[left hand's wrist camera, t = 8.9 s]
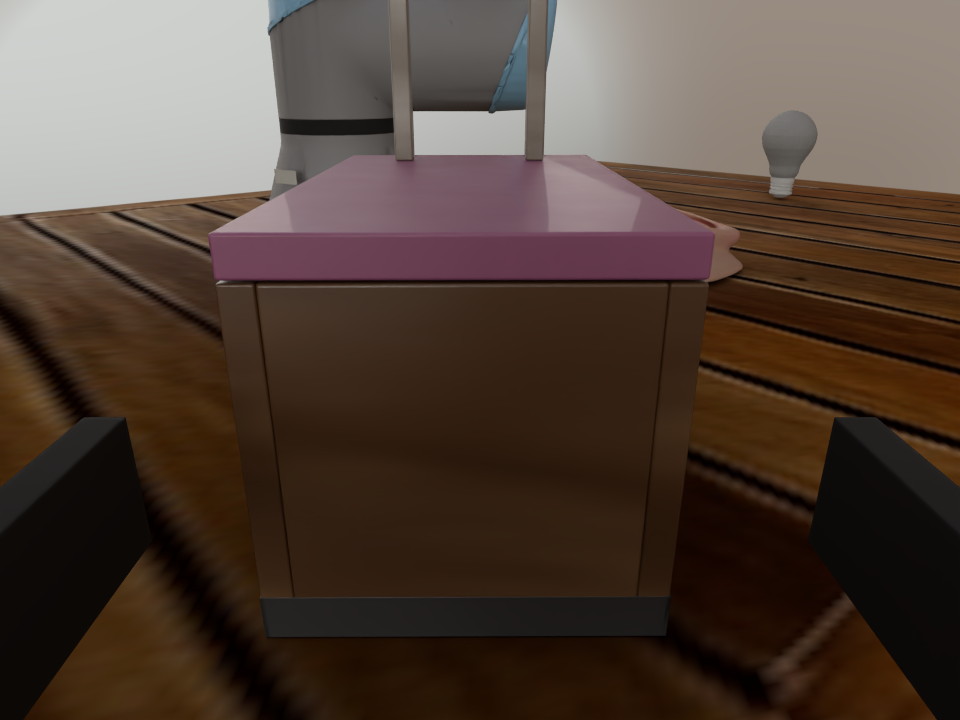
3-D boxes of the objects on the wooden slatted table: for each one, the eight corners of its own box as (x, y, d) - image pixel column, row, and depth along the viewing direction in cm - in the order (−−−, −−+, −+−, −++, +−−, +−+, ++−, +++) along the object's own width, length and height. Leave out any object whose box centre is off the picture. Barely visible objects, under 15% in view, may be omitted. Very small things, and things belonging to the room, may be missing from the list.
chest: (364, 381, 32) (350, 182, 29) (577, 380, 32) (589, 181, 29) (265, 637, 17) (213, 284, 14) (666, 636, 17) (710, 283, 14)
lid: (353, 178, 30) (339, -41, 26) (586, 178, 30) (598, -41, 26) (213, 281, 14) (137, -230, 11) (710, 281, 14) (775, -230, 11)
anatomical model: (750, 229, 45) (576, 219, 48) (742, 288, 46) (573, 274, 50) (749, 200, 56) (609, 193, 60) (742, 248, 58) (606, 238, 61)
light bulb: (762, 200, 82) (776, 111, 78) (747, 193, 87) (759, 109, 84) (814, 200, 81) (830, 111, 78) (795, 193, 87) (809, 110, 83)
